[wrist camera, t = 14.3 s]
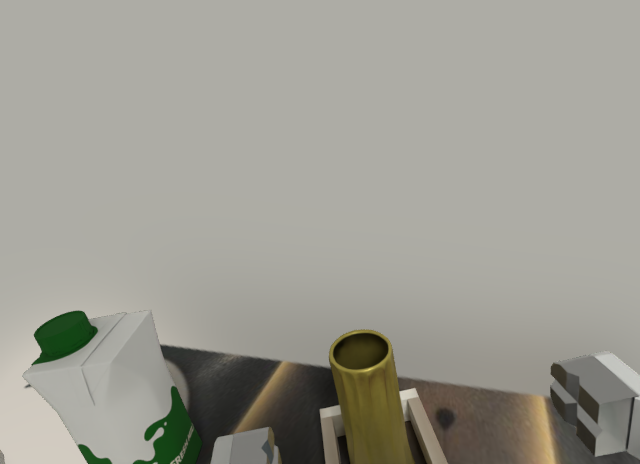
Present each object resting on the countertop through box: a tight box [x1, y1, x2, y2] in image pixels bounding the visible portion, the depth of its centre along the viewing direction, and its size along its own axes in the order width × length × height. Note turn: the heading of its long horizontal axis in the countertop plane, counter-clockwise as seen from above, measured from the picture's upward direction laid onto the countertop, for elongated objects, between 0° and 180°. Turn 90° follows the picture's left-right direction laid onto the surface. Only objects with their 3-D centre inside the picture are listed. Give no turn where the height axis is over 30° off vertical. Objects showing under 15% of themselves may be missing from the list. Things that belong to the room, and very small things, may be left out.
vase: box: [329, 330, 415, 464], centre depth 34 cm, size 6×6×14 cm
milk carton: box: [23, 310, 202, 464], centre depth 37 cm, size 9×9×20 cm
